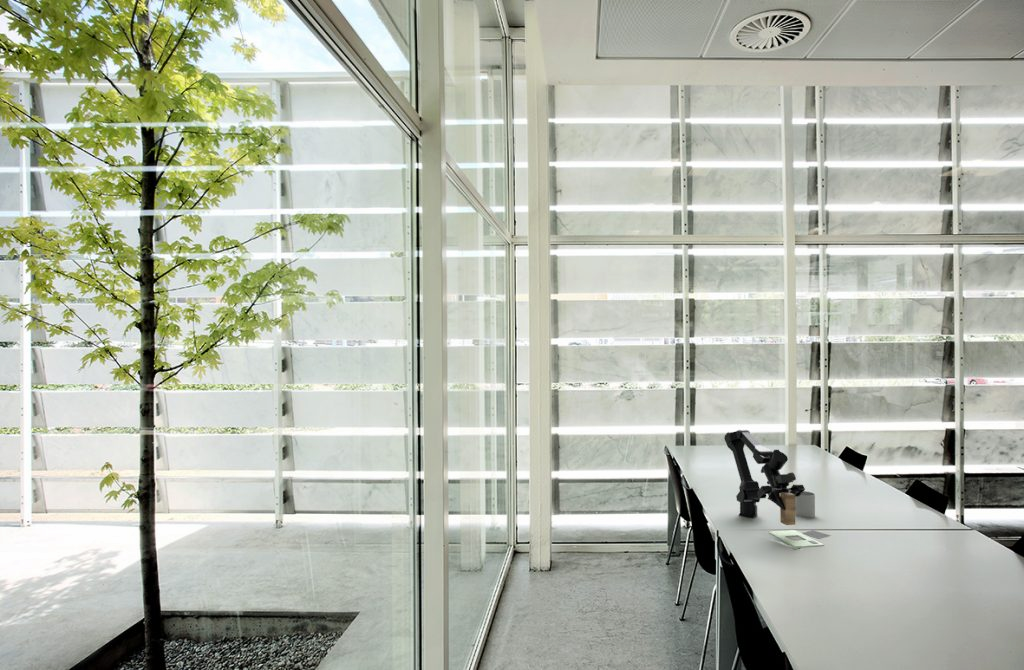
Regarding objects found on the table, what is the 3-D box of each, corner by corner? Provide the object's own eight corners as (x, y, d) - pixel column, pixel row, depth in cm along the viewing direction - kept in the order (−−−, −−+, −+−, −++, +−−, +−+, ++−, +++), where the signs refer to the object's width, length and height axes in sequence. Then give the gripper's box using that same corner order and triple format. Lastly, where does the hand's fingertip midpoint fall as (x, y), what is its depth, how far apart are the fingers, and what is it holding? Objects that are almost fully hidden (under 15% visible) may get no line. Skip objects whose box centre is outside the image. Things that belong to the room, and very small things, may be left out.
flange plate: (768, 534, 249) (768, 531, 249) (795, 532, 251) (795, 529, 251) (795, 549, 232) (795, 545, 232) (824, 547, 234) (824, 544, 234)
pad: (800, 534, 248) (800, 533, 248) (812, 531, 252) (812, 530, 252) (818, 540, 241) (818, 538, 241) (831, 537, 245) (831, 535, 245)
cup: (803, 518, 270) (803, 496, 270) (790, 513, 278) (790, 491, 278) (819, 517, 273) (819, 494, 273) (805, 512, 280) (805, 490, 281)
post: (780, 522, 248) (780, 492, 248) (789, 521, 249) (789, 492, 249) (786, 525, 244) (786, 495, 244) (795, 524, 245) (795, 494, 245)
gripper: (760, 466, 249) (776, 500, 238) (802, 464, 252) (819, 498, 241) (750, 481, 257) (765, 514, 246) (790, 479, 260) (807, 512, 249)
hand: (789, 509), depth 245 cm, fingers closed on post, 4 cm apart
